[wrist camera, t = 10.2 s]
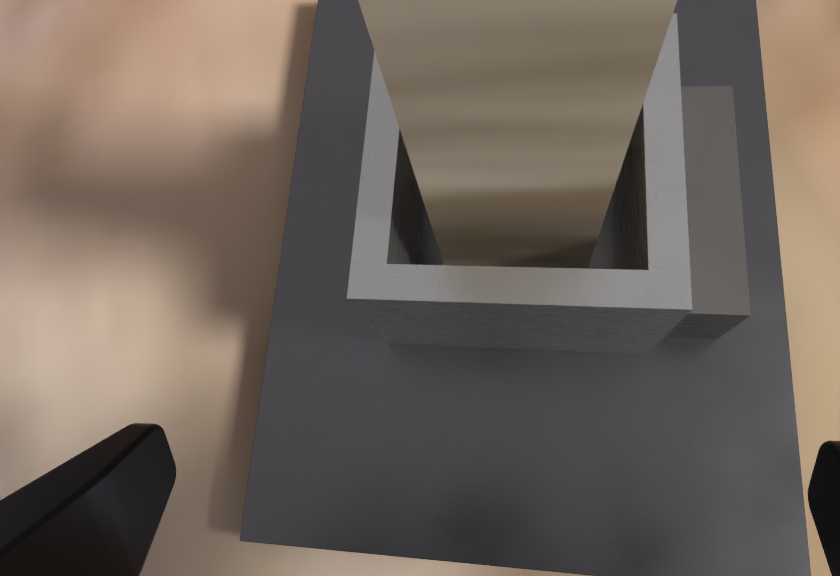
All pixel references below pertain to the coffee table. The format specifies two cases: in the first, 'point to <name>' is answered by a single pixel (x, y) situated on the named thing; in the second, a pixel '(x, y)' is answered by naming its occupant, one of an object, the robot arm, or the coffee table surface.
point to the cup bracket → (537, 344)
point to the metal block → (517, 116)
